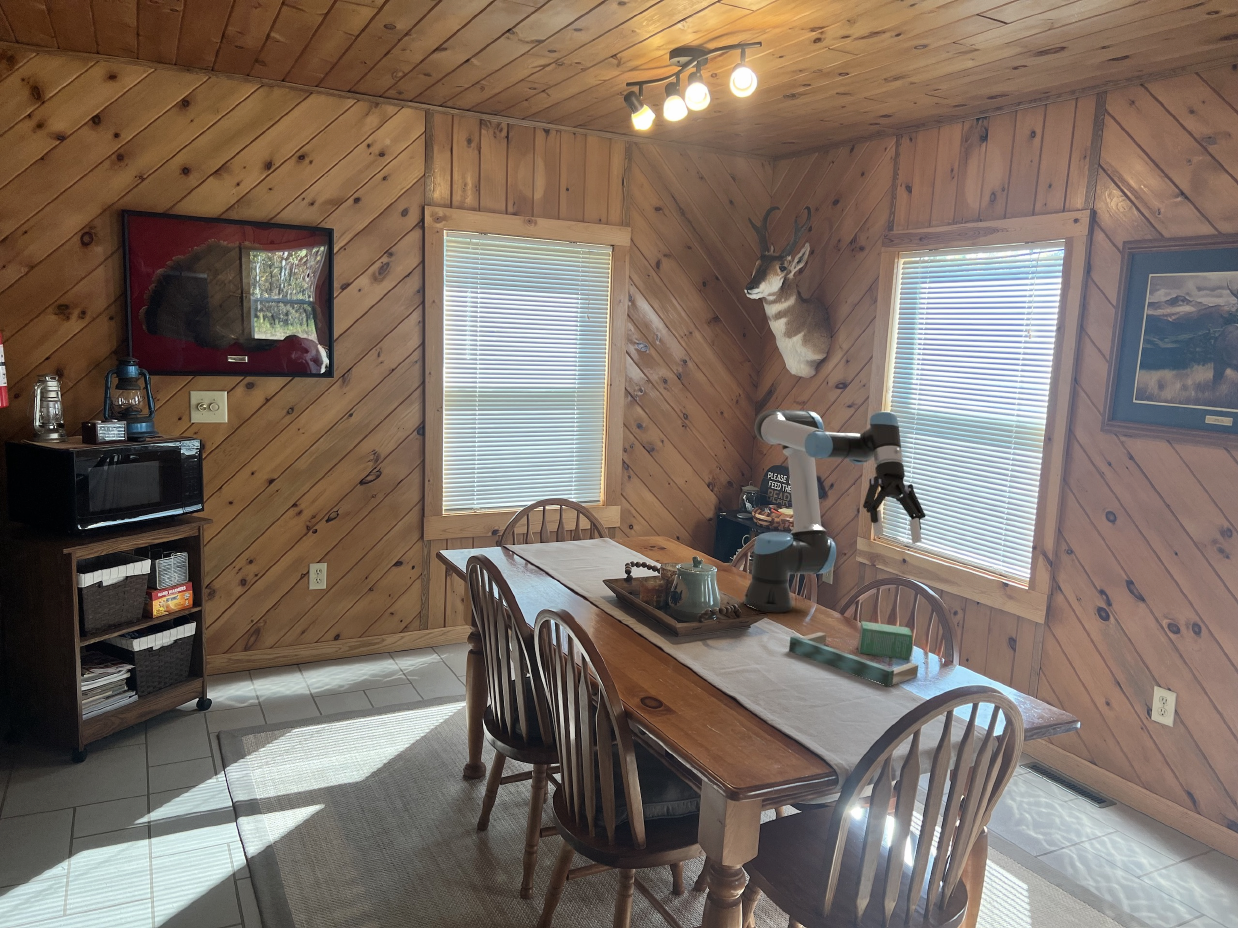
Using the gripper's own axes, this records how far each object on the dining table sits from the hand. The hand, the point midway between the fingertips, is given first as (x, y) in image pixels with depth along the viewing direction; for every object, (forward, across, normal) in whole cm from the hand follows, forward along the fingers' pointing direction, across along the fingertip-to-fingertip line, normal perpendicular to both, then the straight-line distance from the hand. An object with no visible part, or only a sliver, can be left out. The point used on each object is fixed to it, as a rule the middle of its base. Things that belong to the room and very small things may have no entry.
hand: (898, 538), depth 235 cm
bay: (+31, -7, +14) cm, 35 cm away
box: (+27, +8, +18) cm, 33 cm away
